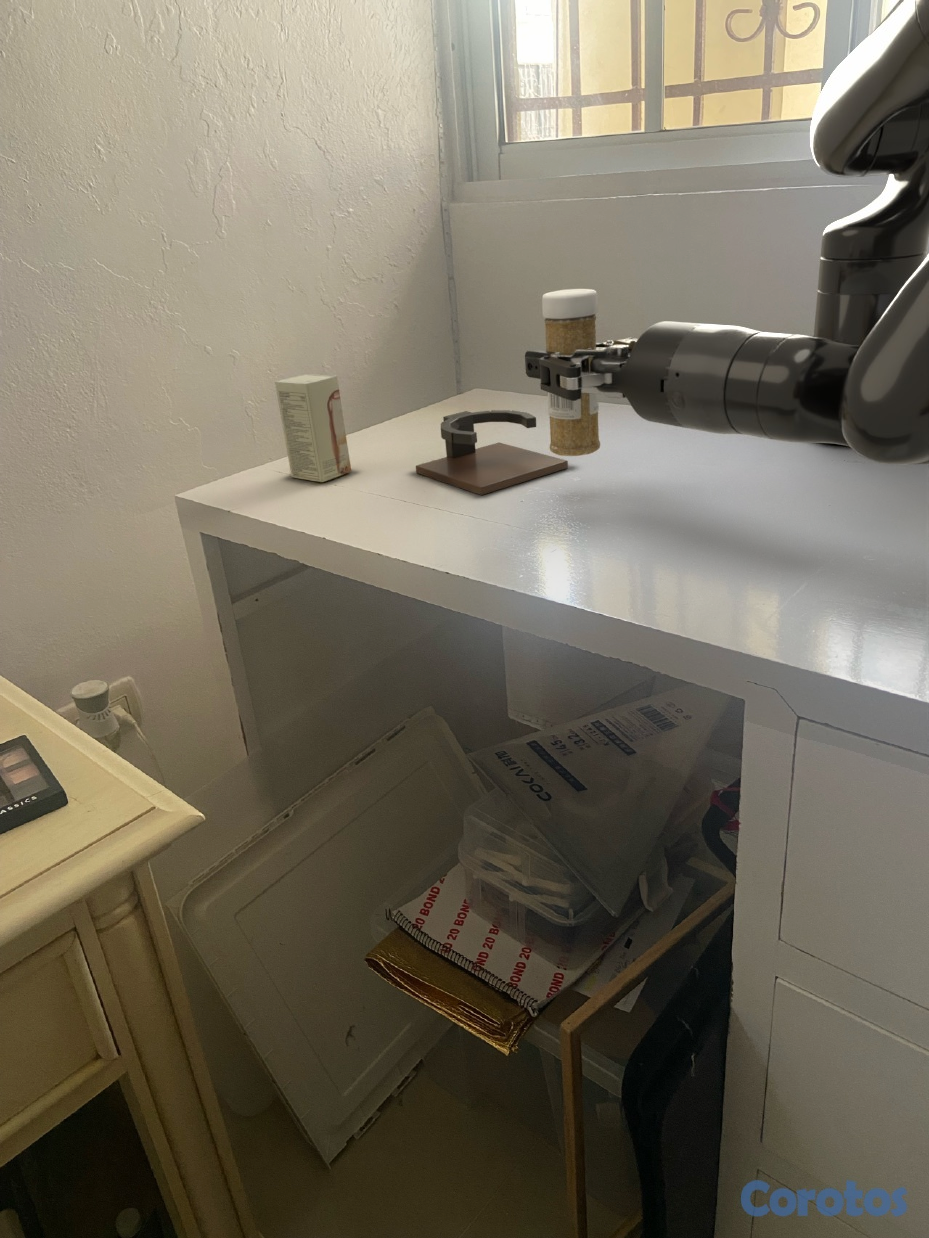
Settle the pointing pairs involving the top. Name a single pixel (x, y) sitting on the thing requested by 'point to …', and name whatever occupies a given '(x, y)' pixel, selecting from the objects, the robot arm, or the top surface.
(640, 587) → the top surface
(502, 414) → the cup holder
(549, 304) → the spice jar
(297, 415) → the printed product carton
